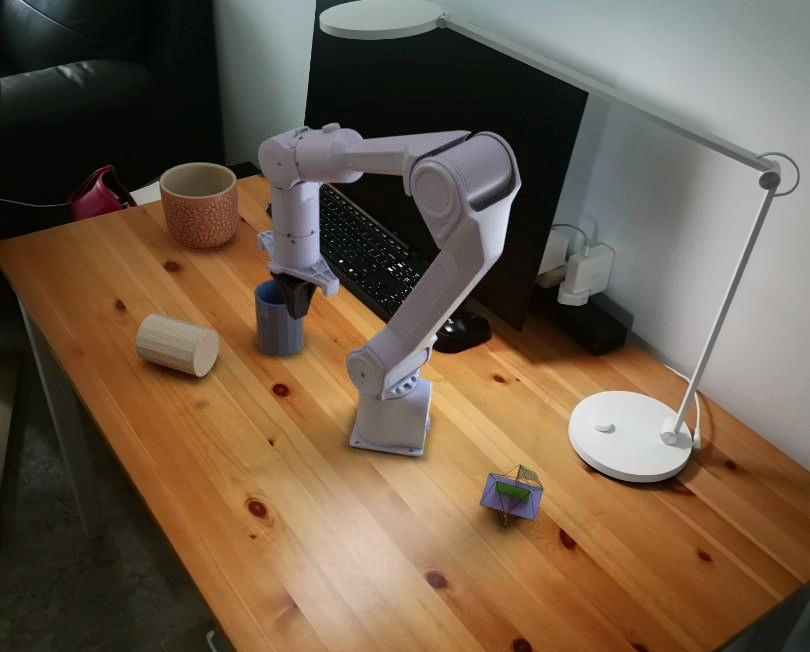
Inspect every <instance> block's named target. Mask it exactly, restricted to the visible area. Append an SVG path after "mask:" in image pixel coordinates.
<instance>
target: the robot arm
mask: <svg viewBox="0 0 810 652" xmlns="http://www.w3.org/2000/svg"><path fill="white" fill-rule="evenodd" d="M470 134H472V132H471V131H470V130H451V131H450V130H449V131H439V132H428V133H418V134H417V133H416V134H408V135H407V134H405V135H397V136H386V137H376V138H366V139H364V138H363V136H362V135H361V134H360V133H359V132H358V131H356V130H354V129H351V128H341V126H340V124H339V122H331V123H328V124H326V125H323V126H322V127H321V129H313V128H310V127H309V126H307V125H302V126H301V125H300V126H298V127H296V128H293V129H290V130H288V131H285V132H282V133H280V134H276V135H275V136H272V137H269V138H267V139H266V140H264V141H262V142H261V143H260V145H259V147H258V151H257V159H258V164H259V166H260V170H261V172H262V174H263V176H264V177H265V179H266V180H267V181H268V182H269V184H270V202H271V203H270V204H271V222H272V223H271V224H272V225H271V226H272V230H270V229H268V230H266V231H263V232H260V233H257V234H256V239H257V240H256V241H257V248H258V249H260V250H261V251H266V253H267V255H268V257H269V259H270V261H268V262H267V266H266V267H267V270H269V275H270V276H271V277H272V279H274V280H275V282H276V283H277V285H278V287H279V289H280V291H281V293H282V296H283V298H284V301H285V304H286V307H287V310H288V313H289V315H290V316H291V317H292V318H293V319H295V320H297V319H299V318H301V317H304V318H305V317H307V316H308V313H309V309H310V307H311V302H312V300H313V296H314V295H315V292H316V290H317V288H320V289H321V295H322V296H324V297H325V298H328V297H331V296H334V295H335V294H337V293H339V292H340V278H338V277H337V276H335V274H334V273H333V272H332V270H331V268H330V267H329V264H328V263H327V262H326V260H325V258H324V256H323V255H322V254H321V251H320V188H321V187H322V185H324V183H327V184H328V183H329V184H331V183H332V184H335V183H336V184H337V183H338V184H339V183H340V184H345V183H346V184H351V183H355V182H356V181H358V180H359V179H360V178H362V176H363V174H364V173H369V174H379V175H393V176H402V181H403V188H404V192H405V195H406V196H408V197H411V196H412V197H413V200H414V202H415V205H416V207H417V209H418V211H419V213H420V215H421V217H422V219H423V221H424V223H425V224H426V227H427V228H428V230H429V232H430V234H431V237H432V239H433V241H434V242H435V244H436V246H437V248H438V249H439V250H441V251H440V252H439V253H438V254H437V256H436V257H435V258H434V260H433V261H432V262H431V264H430V265H429V267H428V268H427V270H426V271H425V272H424V274H423V275H422V276H421V278H420V279H419V281H418V282H417V283H416V284H415V286H414V287H413V288H412V289H411V291H410V293H409V294H408V295H407V296H406V298H405V299H404V300H403V302H402V303H401V305H400V306H399V307H398V309H397V310H396V311H395V313H394V314H393V316H392V317H391V318H390V320H389V321H388V322H387V324H386V325H385V326H384V327H382V328H381V329H380V330H379V331H378V332H377V333H376V334H374V335H373V336H372V337H371V338H370V339H369V340H367V341H366V342H365V344H362V345H361V346H359V347H358V348H354V349H352V350H351V351H349V353H348V354H347V356H346V360H345V367H346V371H347V375H348V378H349V380H350V382H351V383H352V384H353V385H354V387H355V388H356V389H357V390H358V396H357V397H358V398H357V399H358V400H357V414H356V417H355V420H354V425H353V428H352V432H351V434H350V438H349V439H350V440H349V446H350V447H352V448H360V449H366V450H371V451H379V452H385V453H391V454H398V455H404V456H411V457H418V458H420V457H422V456H423V452H424V447H425V442H426V436H427V432H429V431H430V428H431V419H432V418H431V417H430V412H431V403H432V393H433V381H431V380H428V379H425V378H423V377H421V376H420V375H421V367H422V366H424V365H426V364H427V363H428V362H429V361H430V360H431V357H432V351H433V346H434V344H435V342H436V341H438V336H437V335H436V333H437V332H438V331H439V330H440V329H441V328H442V327H443V325H444V324H445V323H446V322H447V320H448V319H449V318H450V316H451V315H452V314H453V313H454V312H455V311H456V310H457V309H458V307H459V306H460V305H461V304H462V303H463V301H464V300H465V299H466V298H467V297H468V296H469V295H470V293H471V292H472V290H473V289H474V288H475V287H476V286H477V285H478V283H479V282H480V281H481V280H482V278H483V277H484V276H486V274H487V273H488V271H489V270H490V269H491V268H492V267H493V265H494V264H495V263H496V262H497V261H498V260H499V258H500V257H501V255H502V253H503V252H504V251H503V250H504V245H505V239H506V235H507V230H508V223H509V217H510V211H511V205H512V203H513V201H514V199H515V197H516V196H517V193H518V191H519V190H520V188H521V186H522V181H521V177H520V172H519V168H518V164H517V158H516V156H515V154H514V151H513V149H512V148H511V145H510V143H508V141H506V139H505V138H503V137H502V136H501V135H499V134H497V133H495V132H492V131H479V132H478V133H475V134H474V135H472V136H471V137H470V138H469V139H468V140H466V138H467V137H468V136H469V135H470Z"/></svg>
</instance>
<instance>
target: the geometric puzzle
mask: <svg viewBox="0 0 810 652" xmlns="http://www.w3.org/2000/svg"><path fill="white" fill-rule="evenodd" d="M518 467H519V468H518ZM508 468H511V466H509V467H508ZM516 468H518V471H517V474H516V476H511V475H507V474H509V473H510V472H512V471H513V470H515V469H516ZM505 469H507V467H505V468H504V470H505ZM498 471H500V470H499V469H498V470H497V472H498ZM494 472H496V470H495V471H493V472H491V471H490V472H488V476H487V480H486V482H485V484H484V487H483V491H482V495H481V498H480V502H479V503H478V505H479V506H481V507H483V508H484V507H485V508H487V509H489V510H491V511H493V512H495V513H497V516H498V518H499V521H500V523H501V524H500V525H501V528H502V529H505V528H507V527H508V528H509V527H511V525H510V524H511V523H513V522H515V520H517V519H521V520H528V521H529V523H530V522H532V521H533V522H536V519H537V514H538V511H539V508H540V504H541V500H542V497H543V492H544V490H545V487H544V486H543V484H542V482H541V481H540V479H539V477H538V475H537V473H536V472H535V471H533V470H531V468H528V467H526V466H525V465H522V464H521V463H519V464H518V465H515V466H514V468H512V469H510V470H509V471H508V472H506V473H505V474H501V475H500V474H499V473H494ZM512 478H514V479H512ZM520 480H521V481H520ZM522 481H523V482H522ZM530 481H533V482H535V483H536V484H534V483H532V482H530ZM525 482H526V483H525ZM499 511H502V512H503V513H501V512H499ZM508 514H512V515H515V516H511V515H508ZM500 515H501V516H503V517H504V518H503V522H502V519H501V516H500ZM507 517H508V518H514V519H513V520H511V521H510V522H508V523H507V524H506V520H507ZM522 524H523V522H522V523H520V525H522ZM508 525H509V526H508ZM517 525H518V526H519V523H518V524H516V526H517ZM513 526H515V524H514V525H512V527H513Z"/></svg>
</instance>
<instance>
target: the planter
mask: <svg viewBox="0 0 810 652" xmlns="http://www.w3.org/2000/svg"><path fill="white" fill-rule="evenodd" d="M158 185H159V193H160V199H161V204H162V208H163V214H164V220H165V224H166V228H167V230H168V232H169V233H170V235H171V237H172V238H173V239H174V240H176V241H177V242H178V243H180V244H182V245H184V246H186V247H189V248H192V249H200V250H206V249H212V248H216V247H219V246H221V245H223V244H224V243H226V242H228V241H229V240H230V239H231V238H232V237H233V236H234V235H235V233H236V231H237V229H238V225H239V189H238V188H239V187H238V180H237V176H236V174H235V173H234V171H232V170H231V169H229V168H228V167H226V166H223V165H221V164H217V163H211V162H187V163H184V164H179V165H176V166H173V167H171V168H169V169H167V170H166V171H165V172H163V174H161V176H160V178H159V184H158Z"/></svg>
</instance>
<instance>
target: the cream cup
mask: <svg viewBox="0 0 810 652" xmlns="http://www.w3.org/2000/svg"><path fill="white" fill-rule="evenodd" d="M219 349H220V338H219V334H218V333H217V331H216V330H214V329H212V328H210V327H206V326H203V325H199V324H196V323H192V322H189V321H186V320H183V319H179V318H175V317H172V316H169V315H166V314H162V313H159V312H153V313H150V314H149V315H147V316H146V317H145V318H144V319H143V320H142V322H141V324H140V325H139V328H138V329H137V333H136V336H135V352H136V354H137V356H138V358H139V359H142V360H144V361H147V362H150V363H154V364H157V365H160V366H163V367H166V368H169V369H173V370H175V371H179V372H182V373H185V374H189V375H191V376H194V377H199V378H202V377H204V376H206V375H207V374H208V373H209V372H210V371H211V369H212V368H213V367H214V364H215V363H216V360H217V358H218V354H219Z"/></svg>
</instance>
